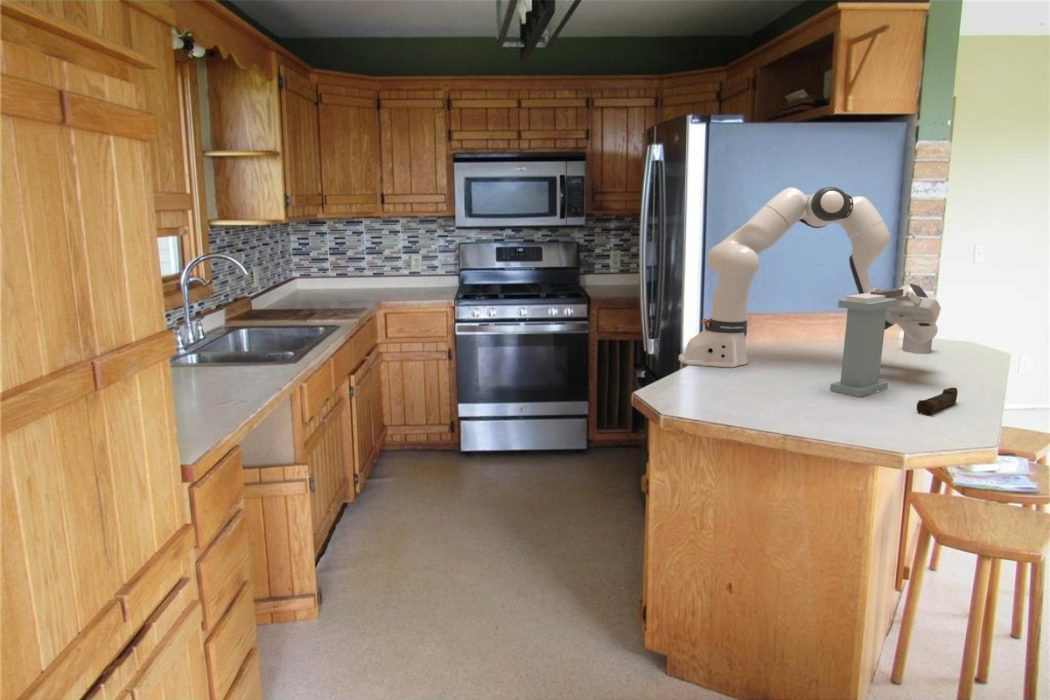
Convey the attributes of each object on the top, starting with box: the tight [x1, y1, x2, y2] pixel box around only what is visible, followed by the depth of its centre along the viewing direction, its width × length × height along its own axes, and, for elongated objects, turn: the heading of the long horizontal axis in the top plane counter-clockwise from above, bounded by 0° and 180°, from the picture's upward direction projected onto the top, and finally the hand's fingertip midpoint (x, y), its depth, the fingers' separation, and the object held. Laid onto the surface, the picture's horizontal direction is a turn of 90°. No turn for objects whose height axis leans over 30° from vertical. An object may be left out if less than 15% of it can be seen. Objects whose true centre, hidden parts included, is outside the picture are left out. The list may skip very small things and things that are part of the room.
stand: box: [829, 298, 898, 398], centre depth 206 cm, size 15×9×26 cm, turn 128°
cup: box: [901, 331, 933, 355], centre depth 260 cm, size 9×9×12 cm
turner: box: [845, 287, 904, 303], centre depth 206 cm, size 24×6×2 cm, turn 128°
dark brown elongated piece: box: [916, 386, 958, 416], centre depth 190 cm, size 19×4×5 cm, turn 126°
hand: (891, 292), depth 211 cm, fingers open, 8 cm apart
